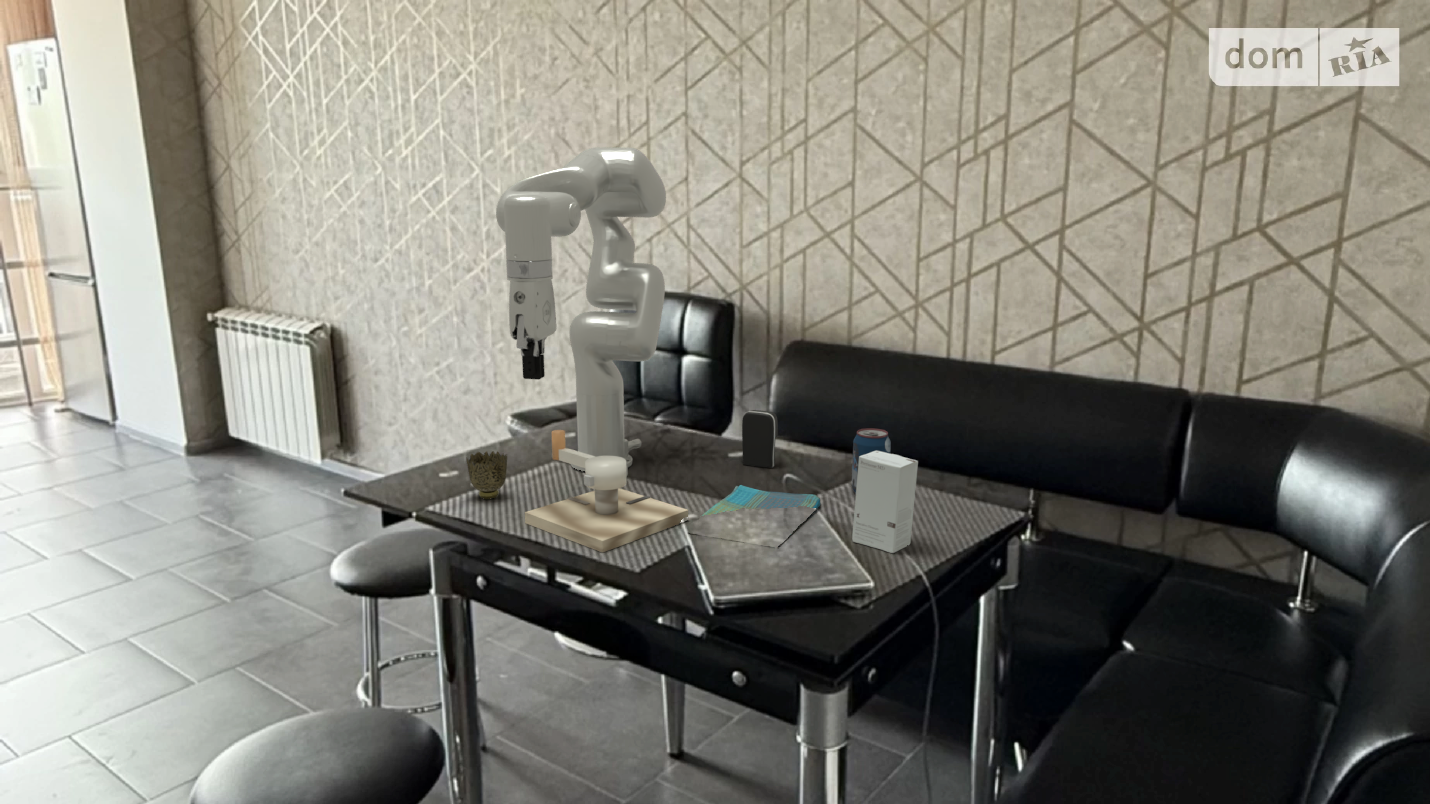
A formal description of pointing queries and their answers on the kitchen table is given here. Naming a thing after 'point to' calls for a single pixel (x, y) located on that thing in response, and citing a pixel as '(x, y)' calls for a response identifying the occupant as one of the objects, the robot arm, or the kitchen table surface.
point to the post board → (606, 518)
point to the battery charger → (759, 438)
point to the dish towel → (762, 500)
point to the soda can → (868, 447)
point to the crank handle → (591, 465)
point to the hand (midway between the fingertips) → (533, 377)
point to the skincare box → (884, 501)
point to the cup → (487, 473)
